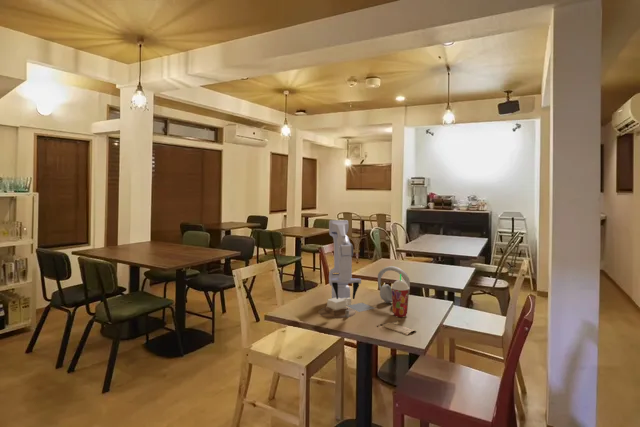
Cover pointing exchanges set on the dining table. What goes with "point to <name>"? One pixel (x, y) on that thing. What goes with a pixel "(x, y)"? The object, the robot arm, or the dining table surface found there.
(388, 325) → the newspaper
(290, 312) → the dining table surface
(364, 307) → the board
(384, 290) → the headphones
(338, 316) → the turntable
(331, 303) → the beige upright block
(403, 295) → the smoothie
